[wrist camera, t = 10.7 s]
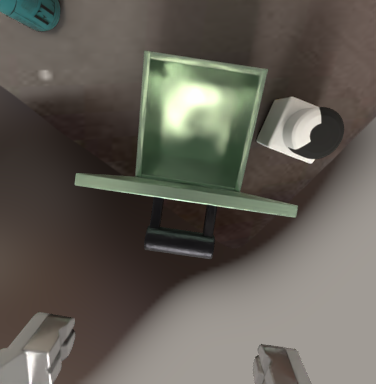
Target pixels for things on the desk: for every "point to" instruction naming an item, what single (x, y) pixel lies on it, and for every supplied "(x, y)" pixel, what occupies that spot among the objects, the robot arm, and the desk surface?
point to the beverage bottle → (33, 12)
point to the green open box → (197, 120)
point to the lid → (181, 239)
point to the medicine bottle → (301, 129)
